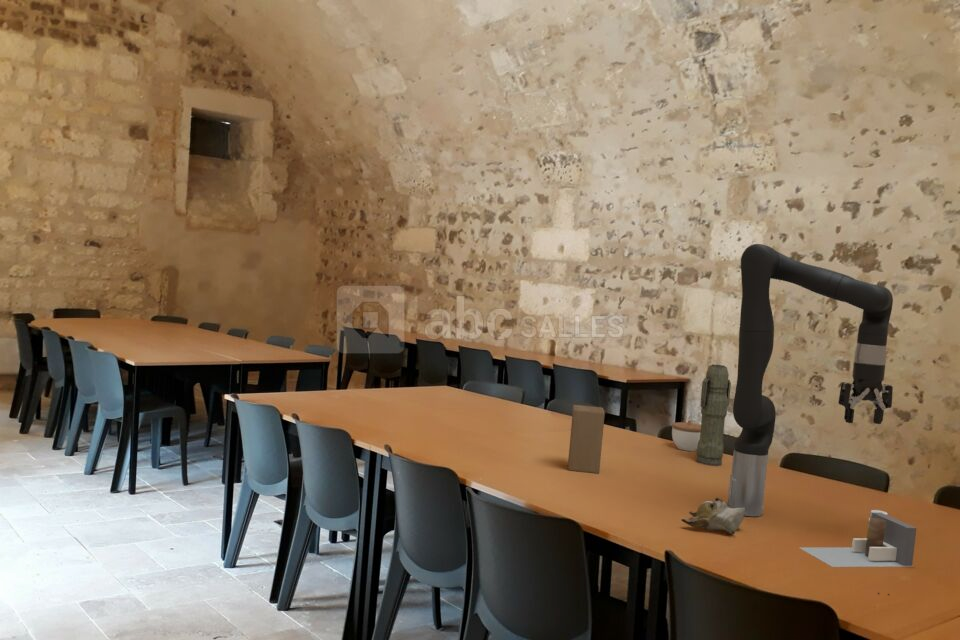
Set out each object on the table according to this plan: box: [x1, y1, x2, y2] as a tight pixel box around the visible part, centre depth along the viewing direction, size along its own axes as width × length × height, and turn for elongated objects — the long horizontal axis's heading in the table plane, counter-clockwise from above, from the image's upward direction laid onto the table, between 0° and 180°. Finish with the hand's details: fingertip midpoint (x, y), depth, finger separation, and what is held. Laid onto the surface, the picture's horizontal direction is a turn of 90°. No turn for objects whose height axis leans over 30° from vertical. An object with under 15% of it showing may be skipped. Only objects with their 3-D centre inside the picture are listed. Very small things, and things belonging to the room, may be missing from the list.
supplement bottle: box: [866, 509, 889, 538], centre depth 216 cm, size 5×5×8 cm
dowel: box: [865, 517, 886, 557], centre depth 201 cm, size 4×4×9 cm
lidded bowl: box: [671, 419, 701, 452], centre depth 321 cm, size 13×13×11 cm
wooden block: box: [567, 404, 606, 474], centre depth 274 cm, size 10×10×20 cm
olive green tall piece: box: [696, 364, 732, 467], centre depth 299 cm, size 9×12×35 cm
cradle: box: [851, 537, 897, 561], centre depth 201 cm, size 7×7×3 cm
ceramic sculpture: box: [680, 497, 745, 535], centre depth 218 cm, size 11×9×15 cm
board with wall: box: [798, 512, 917, 568], centre depth 200 cm, size 22×13×10 cm, turn 103°
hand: (863, 423), depth 220 cm, fingers open, 8 cm apart
